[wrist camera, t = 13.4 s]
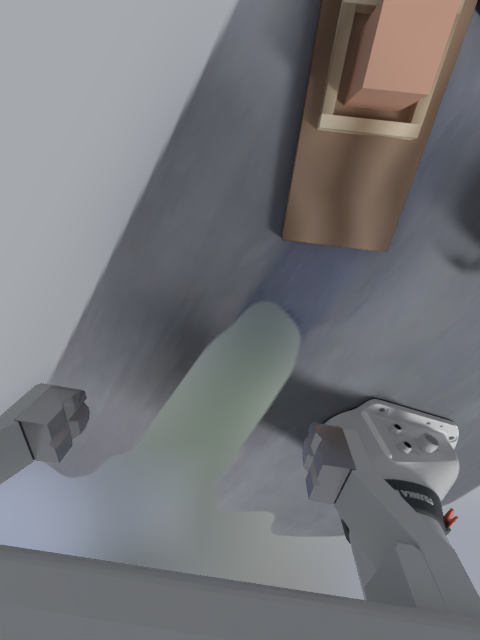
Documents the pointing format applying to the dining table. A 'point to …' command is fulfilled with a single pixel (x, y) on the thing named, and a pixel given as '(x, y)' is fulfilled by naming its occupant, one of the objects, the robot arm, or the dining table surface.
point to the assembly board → (357, 140)
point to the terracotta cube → (400, 53)
